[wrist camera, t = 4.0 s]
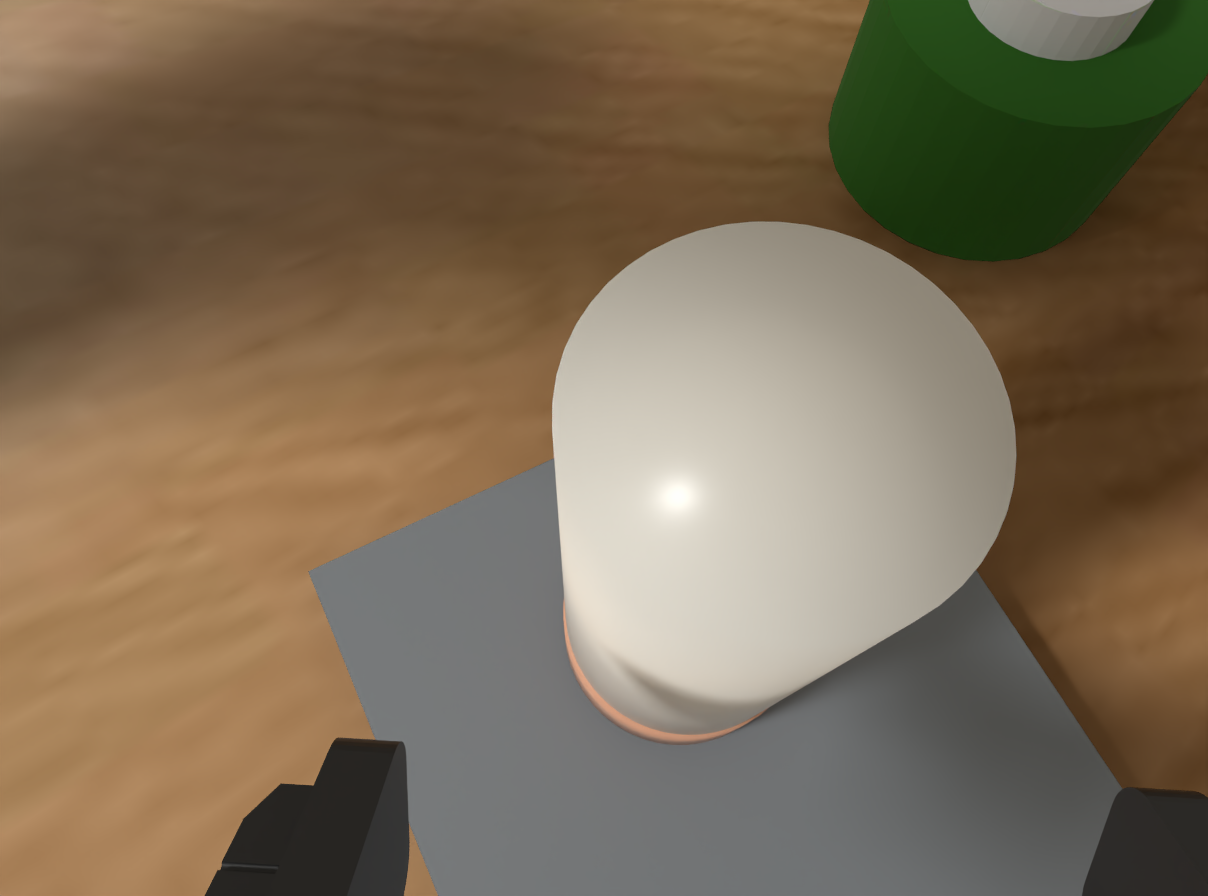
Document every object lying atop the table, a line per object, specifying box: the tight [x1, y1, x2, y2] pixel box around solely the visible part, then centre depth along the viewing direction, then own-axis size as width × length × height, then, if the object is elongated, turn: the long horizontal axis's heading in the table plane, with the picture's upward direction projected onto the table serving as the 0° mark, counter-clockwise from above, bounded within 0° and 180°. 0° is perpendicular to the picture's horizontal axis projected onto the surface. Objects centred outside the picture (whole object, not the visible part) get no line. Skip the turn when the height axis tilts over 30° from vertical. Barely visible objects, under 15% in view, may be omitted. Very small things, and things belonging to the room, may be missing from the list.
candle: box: [829, 0, 1208, 261], centre depth 23 cm, size 8×8×10 cm
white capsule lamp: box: [552, 222, 1017, 745], centre depth 15 cm, size 5×5×12 cm
